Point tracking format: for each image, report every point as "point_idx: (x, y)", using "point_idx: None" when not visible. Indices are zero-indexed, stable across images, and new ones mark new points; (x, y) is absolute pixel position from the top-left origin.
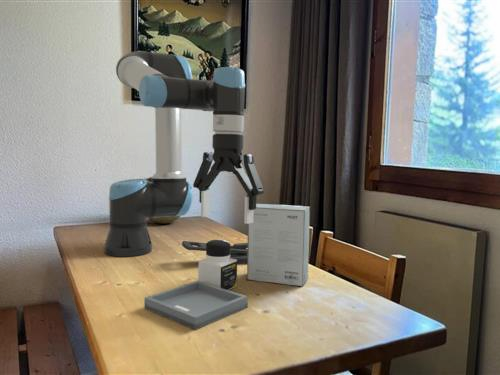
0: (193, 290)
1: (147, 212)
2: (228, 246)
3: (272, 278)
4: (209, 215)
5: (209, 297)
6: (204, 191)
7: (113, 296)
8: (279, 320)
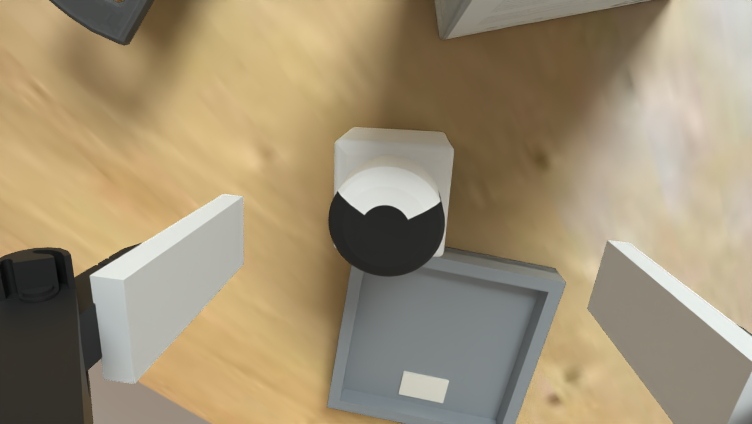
0: None
1: None
2: (444, 224)
3: (552, 17)
4: (242, 203)
5: (440, 290)
6: (133, 370)
7: (213, 363)
8: None
